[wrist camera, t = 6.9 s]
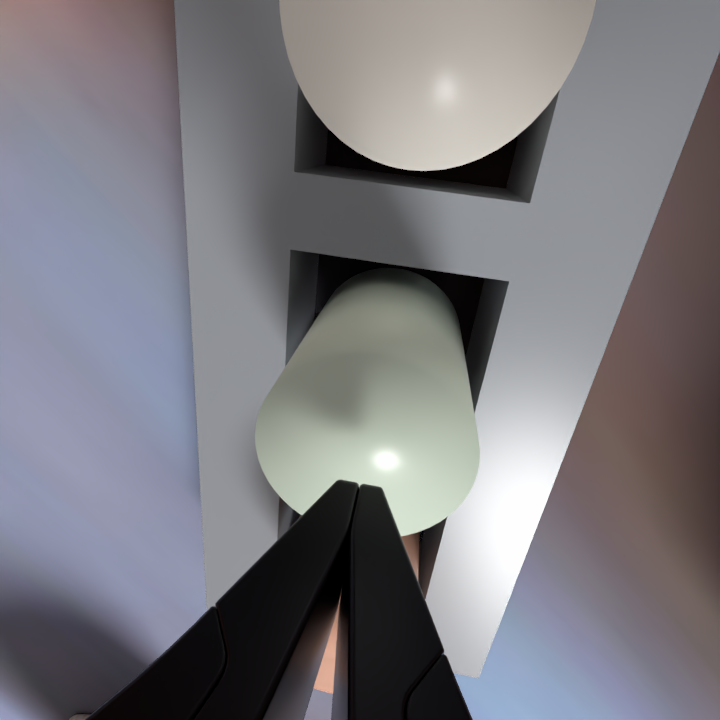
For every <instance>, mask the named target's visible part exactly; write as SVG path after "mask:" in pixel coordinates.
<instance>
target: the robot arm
mask: <svg viewBox="0 0 720 720" xmlns="http://www.w3.org/2000/svg"><path fill="white" fill-rule="evenodd" d="M340 596H341V598H340ZM339 601H340V605H339ZM338 605H339V614H338V626H337V641H336V656H335V671H334V686H333V701H332V716H331V720H472V717H471V715H470V712H469V710H468V708H467V705H466V703H465V700H464V698H463V696H462V693H461V691H460V688H459V686H458V684H457V681H456V678H455V676H454V673H453V671H452V668H451V665H450V663H449V660H448V658H447V656H446V655H444V648H443V645H442V643H441V640H440V637H439V635H438V632H437V629H436V627H435V624H434V622H433V619H432V616H431V614H430V611H429V608H428V606H427V603H426V601H425V598H424V595H423V593H422V590H421V588H420V585H419V582H418V580H417V577H416V574H415V572H414V569H413V567H412V564H411V561H410V559H409V556H408V553H407V551H406V548H405V546H404V543H403V540H402V538H401V535H400V533H399V530H398V527H397V525H396V522H395V519H394V517H393V514H392V512H391V509H390V506H389V504H388V501H387V499H386V496H385V493H384V491H383V489H382V488H381V487H379V486H374V485H369V484H361V485H360V487H359V484H358V483H357V482H352V481H347V480H341V479H340V480H337V481H336V482H335V483H334V484H333V485H332V486H331V487H330V488H329V489H328V490H327V491H326V492H325V493H324V494H323V495H322V496H321V497H320V498H319V499H318V500H317V501H316V502H315V503H314V504H313V505H312V506H311V507H310V508H309V509H308V510H307V511H306V512H305V513H304V514H303V515H302V516H301V517H300V518H299V519H298V520H297V521H296V522H295V523H294V524H293V525H292V526H291V527H290V528H289V529H288V530H287V531H286V532H285V533H284V534H283V535H282V536H281V537H280V538H279V539H278V540H277V541H276V542H275V543H274V544H273V545H272V546H271V547H270V548H269V549H268V550H267V551H266V552H265V553H264V554H263V555H262V556H261V557H260V558H259V559H258V560H257V561H256V562H255V563H254V564H253V565H252V566H251V567H250V568H249V569H248V570H247V571H246V572H245V573H244V574H243V575H242V576H241V577H240V578H239V579H238V580H237V582H236V583H235V584H234V585H233V586H232V587H231V588H230V589H229V590H228V591H227V592H226V593H225V594H224V595H223V596H222V597H221V598H220V599H219V600H218V601H217V602H216V603H215V606H212V607H210V608H209V609H208V610H207V611H206V612H205V613H204V614H203V616H202V617H201V618H200V619H199V620H198V621H197V622H196V623H195V624H194V625H193V626H192V627H191V628H189V629H188V630H187V631H186V632H185V633H184V634H183V635H182V636H181V637H180V638H179V639H178V640H177V641H176V642H175V643H174V644H173V645H172V646H171V647H170V648H169V649H167V650H166V651H165V652H164V653H163V654H162V655H161V656H160V657H159V658H157V659H156V660H155V661H154V662H153V663H152V664H150V665H149V666H148V667H147V668H146V669H145V670H143V671H142V672H141V673H140V674H139V675H138V676H136V677H135V678H134V679H133V680H132V681H131V682H129V683H128V684H127V685H126V686H125V687H123V688H122V689H121V690H120V691H119V692H117V693H116V694H115V695H114V696H113V697H111V698H110V699H109V700H108V701H107V702H105V703H104V704H103V705H102V706H100V707H99V708H98V709H97V710H96V711H94V712H93V713H92V714H91V715H90V716H88V717H87V718H86V719H85V720H304V717H305V713H306V710H307V707H308V704H309V700H310V697H311V694H312V691H313V688H314V684H315V681H316V678H317V675H318V671H319V668H320V665H321V662H322V659H323V655H324V652H325V649H326V646H327V643H328V639H329V636H330V633H331V630H332V626H333V623H334V620H335V616H336V613H337V609H338Z"/></svg>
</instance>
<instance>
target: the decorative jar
mask: <svg viewBox="0 0 720 720" xmlns="http://www.w3.org/2000/svg"><path fill="white" fill-rule="evenodd" d="M90 715H91V714H76V715H74V716H72V717H71V718H70V719H69V720H85V719H86V718H87V717H88V716H90Z"/></svg>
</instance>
